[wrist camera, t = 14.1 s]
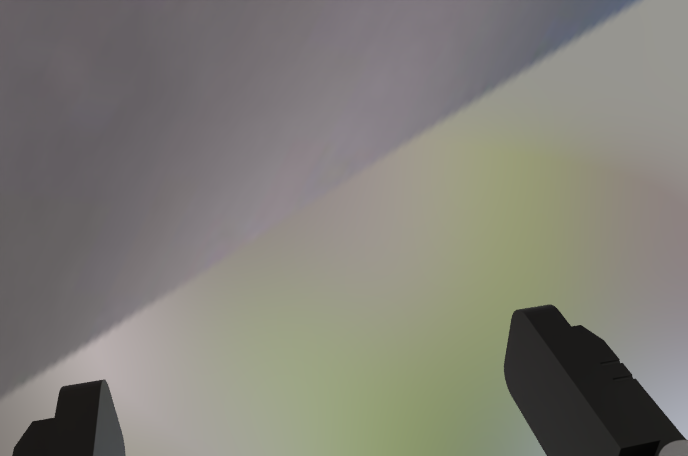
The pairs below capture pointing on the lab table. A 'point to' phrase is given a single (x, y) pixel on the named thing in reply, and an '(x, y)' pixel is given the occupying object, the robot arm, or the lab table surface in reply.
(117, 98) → the lab table surface
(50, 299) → the lab table surface
